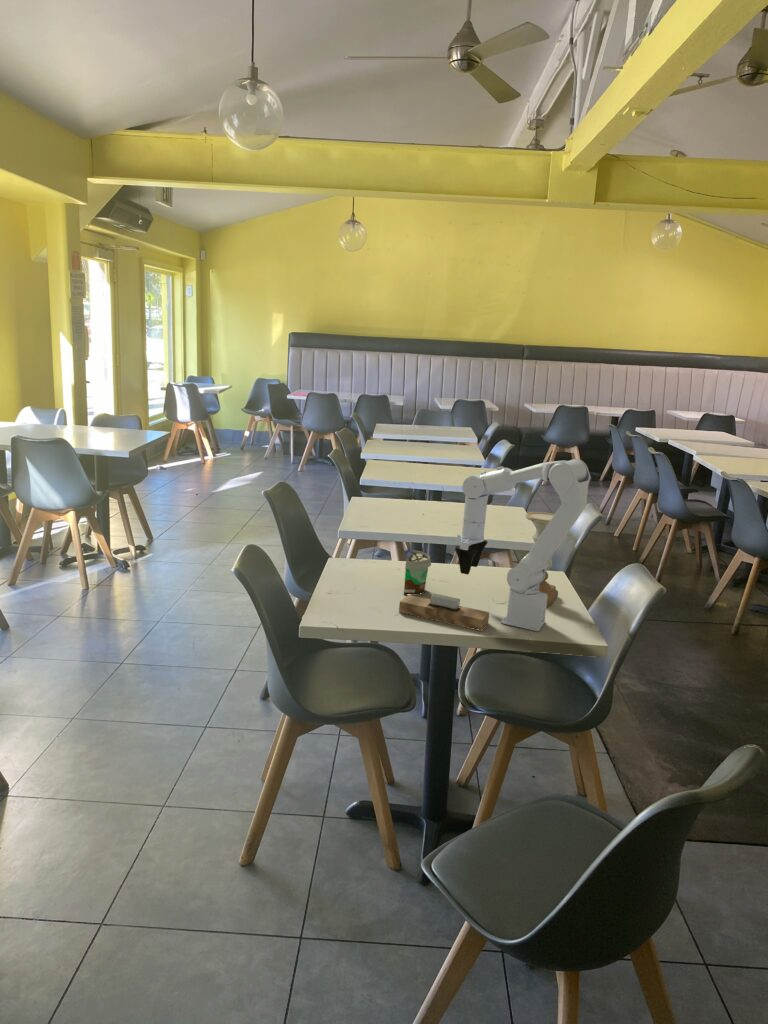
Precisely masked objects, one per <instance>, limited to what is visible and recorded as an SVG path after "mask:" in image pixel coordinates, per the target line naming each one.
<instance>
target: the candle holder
mask: <svg viewBox="0 0 768 1024" xmlns="http://www.w3.org/2000/svg"><path fill="white" fill-rule="evenodd" d="M554 514H555V513H551V512H544V511H530V512H526V513H525V518H526V519H527V520H529V521H531V522H533V524H534V526H535V528H536V531H535V533H534V534H533V536H532V539H533V542H534V544H535V543H536V541H537V540H538V538H539V537H540V535H541V534H542V532H543V531H544V529H545V528H546V526H547V525H548V523H549V522H550V520H551V519H552V517H553V516H554ZM548 564H549V566H548V567H547V569H546V572H545V578H544V580H543V581H542V582H541V583H540V584H539V591H540V592H542V593H545V594H547V606H546V608H549V607H550V606H551V605H552V604H553V603H554V602H555V601H556V600H557V599H558V597H559V590H557V589H556V588H557V587H556V586H555V585H553V584H549V582H548V581H547V580H548V578H549V574H548V572H547V571H548V570H550V569H551V568H552V566H553V559H552V557H551V558H550V560H549V561H548Z"/></svg>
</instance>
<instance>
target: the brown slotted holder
mask: <svg viewBox="0 0 768 1024" xmlns="http://www.w3.org/2000/svg"><path fill="white" fill-rule="evenodd" d="M431 605H432V604H430V598H426V597H420V596H418V595H405V597H403V599H401V600H400V601H399V605H398V606H399V608H398V613H399V612H401V613H400V614H403V613H406V614H405V615H408V614H411V615H410V616H412V615H414V616H413V617H417V616H419V617H418V618H421V617H423V618H422V619H425V618H428V619H427V620H430V619H433V620H432V621H434V620H438V621H437V622H439V621H442V622H441V623H443V622H446V623H445V624H447V623H450V624H449V625H452V624H454V625H453V626H456V625H459V626H458V627H461V626H464V627H463V628H465V627H469V628H474V629H479V630H482V629H483V628H484V627H485V626H486V627H487V626H488V625H489V619H490V612H489V611H486V610H485V611H484V610H480V609H476V608H472V607H467V606H464V605H463V606H462V605H459V607H458V609H457V612H456V611H451V610H450V608H447V607H443V606H439V608H437V607H433V606H431ZM486 627H485V628H486ZM469 628H468V629H469ZM485 628H484V629H485ZM474 629H473V630H474ZM484 629H483V630H484ZM483 630H482V631H483Z"/></svg>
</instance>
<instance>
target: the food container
mask: <svg viewBox="0 0 768 1024" xmlns="http://www.w3.org/2000/svg"><path fill="white" fill-rule="evenodd" d="M430 557H431V556H430V555H429V554H427V553H425V552H423V551H419V550H415V549H413V550H412V555H411V556H410V557H409V559H408V560H405V567H404V569H405V572H404V588H403V595H404V594H419V595H421V594H420V593H422V594H424V593H425V589H426V582H427V577H428V572H429V567H431V565H432V562H431V558H430ZM423 592H424V593H423Z"/></svg>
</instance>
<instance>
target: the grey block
mask: <svg viewBox="0 0 768 1024" xmlns="http://www.w3.org/2000/svg"><path fill="white" fill-rule="evenodd" d="M429 599H430V604H432V605H431V606H433V607H437V608H439V606H443V607H447V608H450V610H451V611H456V612H457V609H458V607H459V606H461V605H460V602H461V598H458V597H451V596H447V595H443V594H437V593H433V594H431V596H430V597H429Z"/></svg>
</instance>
